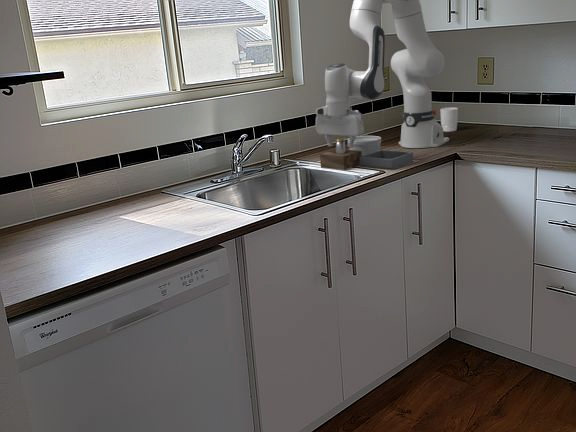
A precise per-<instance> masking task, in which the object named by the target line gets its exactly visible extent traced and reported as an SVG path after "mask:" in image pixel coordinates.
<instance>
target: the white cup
mask: <svg viewBox="0 0 576 432" xmlns="http://www.w3.org/2000/svg"><path fill="white" fill-rule="evenodd" d="M439 112H440V113H439V115H440V125H441V126H442V127H443V132H445V133H446V132H449V133H450V132H455V131H457V129H458V127H457V126H458V119H459V117H458V115H459V108H458V107H442V108H440V109H439Z"/></svg>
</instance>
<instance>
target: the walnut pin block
mask: <svg viewBox="0 0 576 432" xmlns="http://www.w3.org/2000/svg"><path fill="white" fill-rule="evenodd" d="M361 156H362V151H357V150H349V149H346V148H345V153H344V154H336V149H333V150H330V151H326V152H323V153H320V154H319V159H320V160H319V161H320V168H321V169H332V170H338V171H339V170H341V171H345V170H349V169H351V167H352V168H354V166H355V167H358V166H360V161H359V157H361Z"/></svg>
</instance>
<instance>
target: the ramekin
mask: <svg viewBox="0 0 576 432" xmlns="http://www.w3.org/2000/svg"><path fill="white" fill-rule="evenodd" d="M349 142H350V139H349V138H348V139H347V143H349ZM381 143H382V137H381V136H376V135H361V136H356V139H355V141H354V143H353V148H348V150H357V151H362V156H364V155H367V154H370V153H373V152H376V151H379V150H381Z"/></svg>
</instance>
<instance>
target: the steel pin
mask: <svg viewBox="0 0 576 432" xmlns="http://www.w3.org/2000/svg"><path fill="white" fill-rule="evenodd" d="M345 149H346V139H345V138H336V139H335V150H336V154H344V153H345Z"/></svg>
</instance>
